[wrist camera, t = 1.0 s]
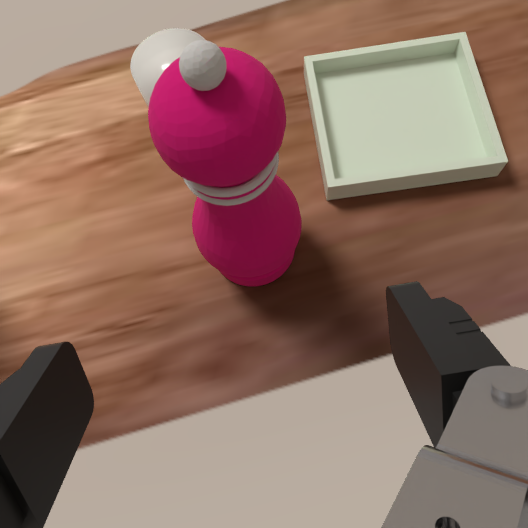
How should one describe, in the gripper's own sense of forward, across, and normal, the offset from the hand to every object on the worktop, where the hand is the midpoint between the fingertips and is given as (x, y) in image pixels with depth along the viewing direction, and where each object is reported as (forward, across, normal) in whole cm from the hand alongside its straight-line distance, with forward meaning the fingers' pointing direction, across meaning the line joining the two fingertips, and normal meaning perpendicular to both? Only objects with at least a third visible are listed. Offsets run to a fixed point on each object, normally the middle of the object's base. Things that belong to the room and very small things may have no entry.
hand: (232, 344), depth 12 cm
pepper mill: (+23, +1, +7) cm, 24 cm away
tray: (+29, -12, +1) cm, 32 cm away
